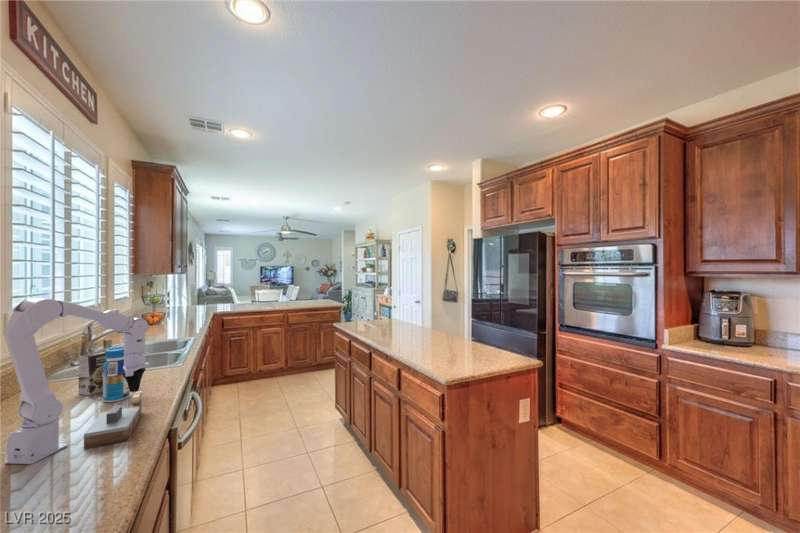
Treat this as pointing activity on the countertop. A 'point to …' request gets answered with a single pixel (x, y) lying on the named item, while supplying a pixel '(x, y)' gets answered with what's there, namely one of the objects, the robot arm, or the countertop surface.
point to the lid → (112, 421)
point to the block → (137, 397)
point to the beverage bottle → (114, 376)
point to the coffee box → (91, 373)
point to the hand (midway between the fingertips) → (134, 391)
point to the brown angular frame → (113, 433)
